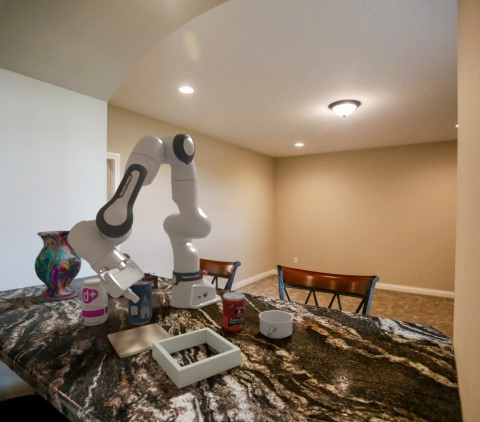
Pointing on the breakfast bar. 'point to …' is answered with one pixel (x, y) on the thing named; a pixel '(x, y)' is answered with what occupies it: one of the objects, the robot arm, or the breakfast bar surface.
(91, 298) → the supplement can
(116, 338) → the board
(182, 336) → the rectangular frame
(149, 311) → the soda can
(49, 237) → the vase
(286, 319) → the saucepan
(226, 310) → the canned food
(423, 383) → the breakfast bar surface
